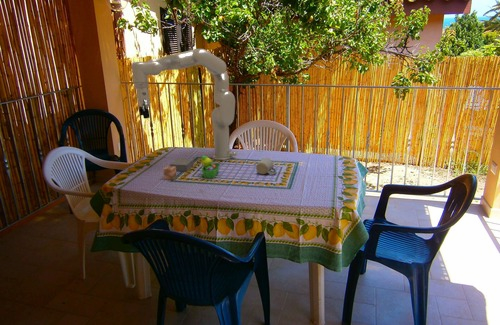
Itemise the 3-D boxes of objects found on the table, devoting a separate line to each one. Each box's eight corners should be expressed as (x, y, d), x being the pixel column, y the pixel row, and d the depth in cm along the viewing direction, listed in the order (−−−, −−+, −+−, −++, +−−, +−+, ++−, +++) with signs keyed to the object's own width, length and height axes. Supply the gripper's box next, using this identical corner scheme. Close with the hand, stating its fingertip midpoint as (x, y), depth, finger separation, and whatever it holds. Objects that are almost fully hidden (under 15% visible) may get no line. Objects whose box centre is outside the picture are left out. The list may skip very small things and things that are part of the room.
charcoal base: (193, 166, 223) (192, 159, 222) (186, 171, 214) (186, 165, 212) (177, 165, 225) (177, 158, 224) (170, 170, 216) (170, 164, 215)
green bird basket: (215, 179, 201) (213, 159, 198) (199, 178, 203) (197, 158, 199) (220, 172, 212) (219, 152, 208) (205, 171, 214) (204, 152, 210)
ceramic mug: (255, 174, 207) (255, 161, 205) (261, 169, 214) (261, 156, 212) (273, 177, 203) (273, 163, 200) (278, 172, 210) (278, 159, 207)
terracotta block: (176, 176, 206) (175, 166, 204) (172, 180, 202) (171, 169, 200) (168, 176, 208) (167, 166, 206) (164, 179, 203) (163, 169, 201)
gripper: (151, 86, 198) (155, 118, 203) (144, 83, 212) (148, 113, 218) (137, 87, 194) (141, 120, 200) (131, 84, 209) (135, 114, 215)
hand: (144, 116), depth 209 cm, fingers open, 9 cm apart
